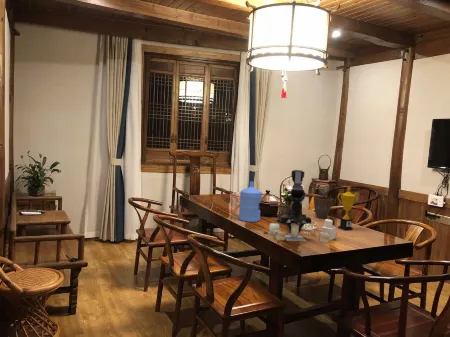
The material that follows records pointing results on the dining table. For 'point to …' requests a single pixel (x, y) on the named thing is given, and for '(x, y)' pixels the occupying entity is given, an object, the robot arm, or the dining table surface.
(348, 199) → the trophy
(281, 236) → the beech block
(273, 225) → the pale curved piece
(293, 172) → the robot arm
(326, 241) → the beech block
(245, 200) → the water jug
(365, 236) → the dining table surface
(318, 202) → the plant pot
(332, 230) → the medicine bottle
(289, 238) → the felt mat
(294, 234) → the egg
